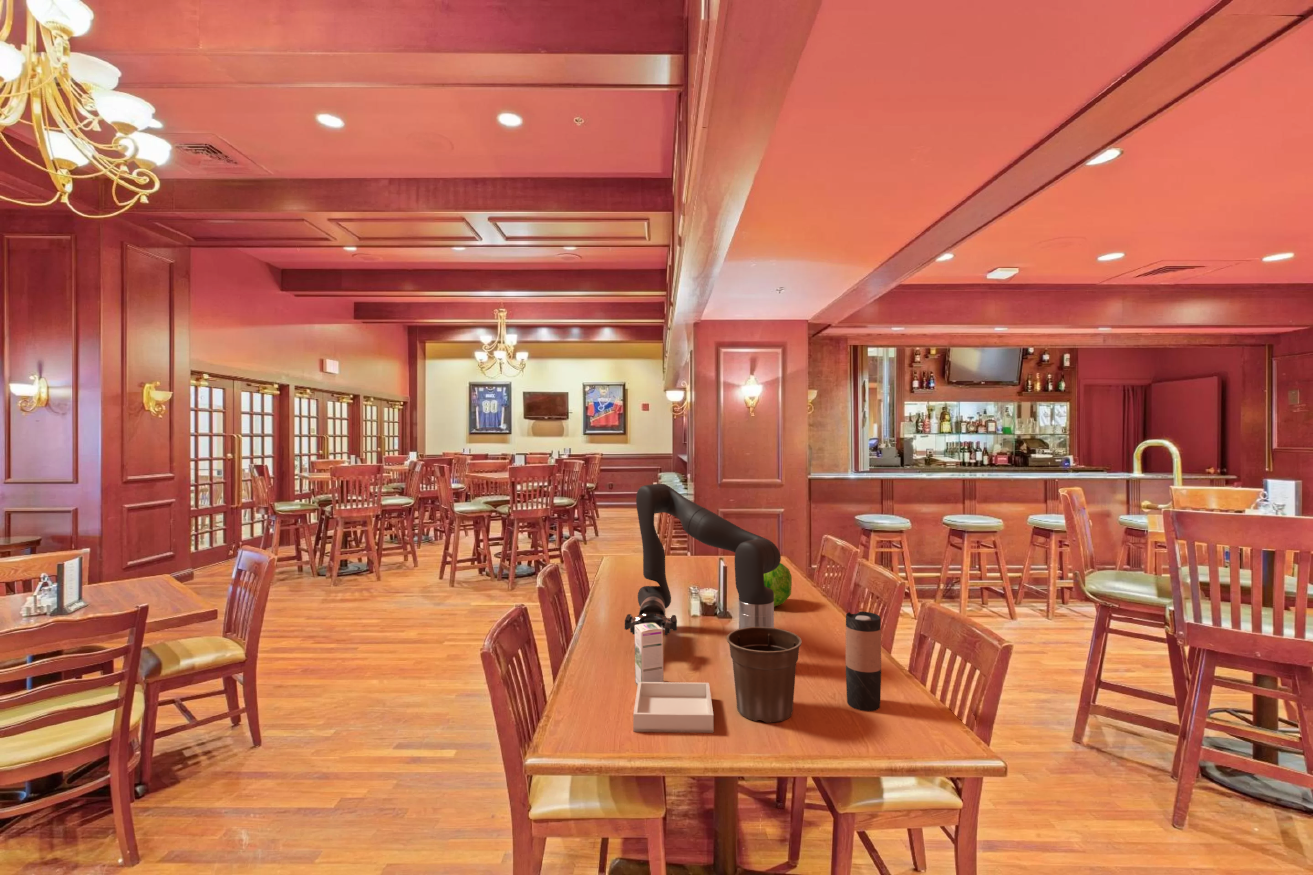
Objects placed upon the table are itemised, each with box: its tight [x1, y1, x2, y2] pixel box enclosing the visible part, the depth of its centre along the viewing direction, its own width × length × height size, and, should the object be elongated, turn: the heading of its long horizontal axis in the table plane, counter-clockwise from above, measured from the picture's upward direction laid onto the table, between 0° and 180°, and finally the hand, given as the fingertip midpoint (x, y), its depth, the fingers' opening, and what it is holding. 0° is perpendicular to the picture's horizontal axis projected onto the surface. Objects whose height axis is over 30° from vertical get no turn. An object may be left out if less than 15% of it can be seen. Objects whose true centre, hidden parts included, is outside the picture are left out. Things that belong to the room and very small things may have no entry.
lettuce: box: [764, 562, 793, 608], centre depth 216 cm, size 17×20×16 cm
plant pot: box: [726, 627, 802, 724], centre depth 132 cm, size 16×16×16 cm
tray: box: [632, 681, 714, 734], centre depth 130 cm, size 16×16×4 cm
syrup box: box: [634, 623, 665, 686], centre depth 146 cm, size 6×6×14 cm
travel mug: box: [845, 610, 882, 712], centre depth 135 cm, size 8×8×20 cm
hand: (650, 631), depth 157 cm, fingers open, 8 cm apart
